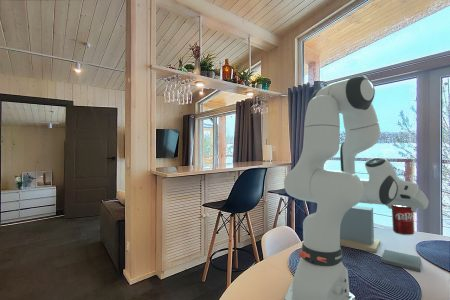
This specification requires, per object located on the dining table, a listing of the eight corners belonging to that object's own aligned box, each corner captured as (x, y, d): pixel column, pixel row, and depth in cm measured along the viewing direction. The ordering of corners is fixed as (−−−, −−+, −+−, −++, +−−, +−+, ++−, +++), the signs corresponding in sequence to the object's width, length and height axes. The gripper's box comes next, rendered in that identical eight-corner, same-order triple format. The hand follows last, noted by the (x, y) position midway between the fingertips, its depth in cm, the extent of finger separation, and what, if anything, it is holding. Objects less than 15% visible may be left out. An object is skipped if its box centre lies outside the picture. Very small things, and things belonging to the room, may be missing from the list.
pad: (420, 271, 84) (420, 268, 84) (381, 262, 92) (381, 259, 92) (420, 260, 93) (420, 257, 93) (384, 252, 101) (384, 249, 101)
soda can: (419, 235, 94) (417, 206, 95) (401, 236, 94) (399, 207, 95) (405, 230, 102) (403, 203, 102) (388, 230, 102) (387, 203, 102)
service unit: (375, 252, 101) (374, 212, 101) (332, 243, 113) (331, 207, 113) (380, 243, 112) (379, 206, 112) (340, 235, 123) (339, 202, 124)
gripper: (361, 191, 102) (374, 210, 106) (418, 197, 84) (430, 220, 89) (367, 180, 104) (379, 200, 109) (422, 184, 87) (434, 207, 91)
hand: (402, 209), depth 99 cm, fingers closed on soda can, 7 cm apart
